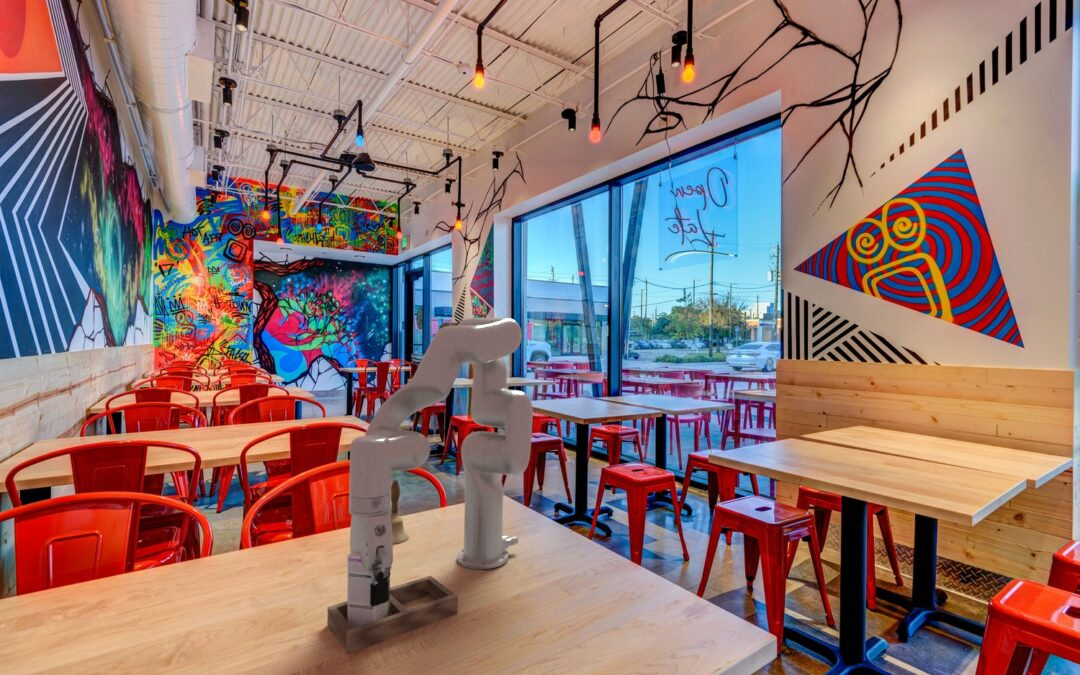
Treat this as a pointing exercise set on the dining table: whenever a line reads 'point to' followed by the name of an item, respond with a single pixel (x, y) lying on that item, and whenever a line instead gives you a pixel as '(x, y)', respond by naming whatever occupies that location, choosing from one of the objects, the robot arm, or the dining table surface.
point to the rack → (395, 614)
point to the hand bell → (396, 521)
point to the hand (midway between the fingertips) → (368, 593)
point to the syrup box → (363, 594)
